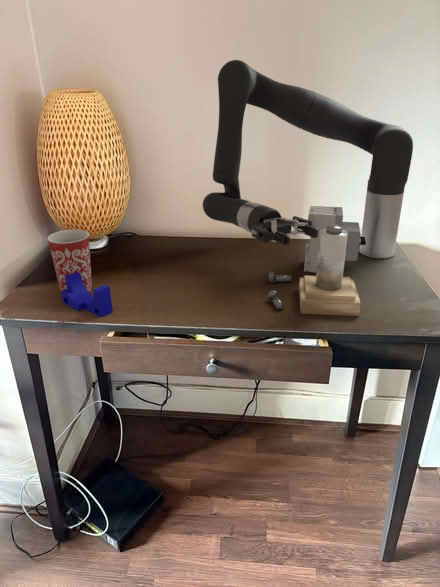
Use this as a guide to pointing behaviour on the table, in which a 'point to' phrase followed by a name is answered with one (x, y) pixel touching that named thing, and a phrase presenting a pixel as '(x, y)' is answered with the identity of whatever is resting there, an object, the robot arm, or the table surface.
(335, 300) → the stand
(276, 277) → the bolt
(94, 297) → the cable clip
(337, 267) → the silver metal bottle
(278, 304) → the bolt
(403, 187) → the robot arm
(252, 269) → the table surface
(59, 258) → the mug
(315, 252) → the circuit breaker
